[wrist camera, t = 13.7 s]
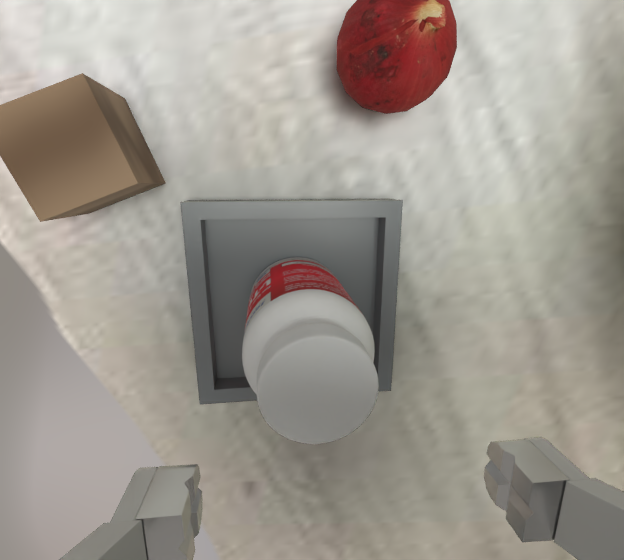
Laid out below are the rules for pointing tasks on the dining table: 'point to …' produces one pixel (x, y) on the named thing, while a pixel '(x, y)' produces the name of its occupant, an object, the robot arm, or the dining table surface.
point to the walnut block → (75, 149)
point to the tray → (274, 247)
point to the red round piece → (395, 51)
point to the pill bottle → (308, 353)
